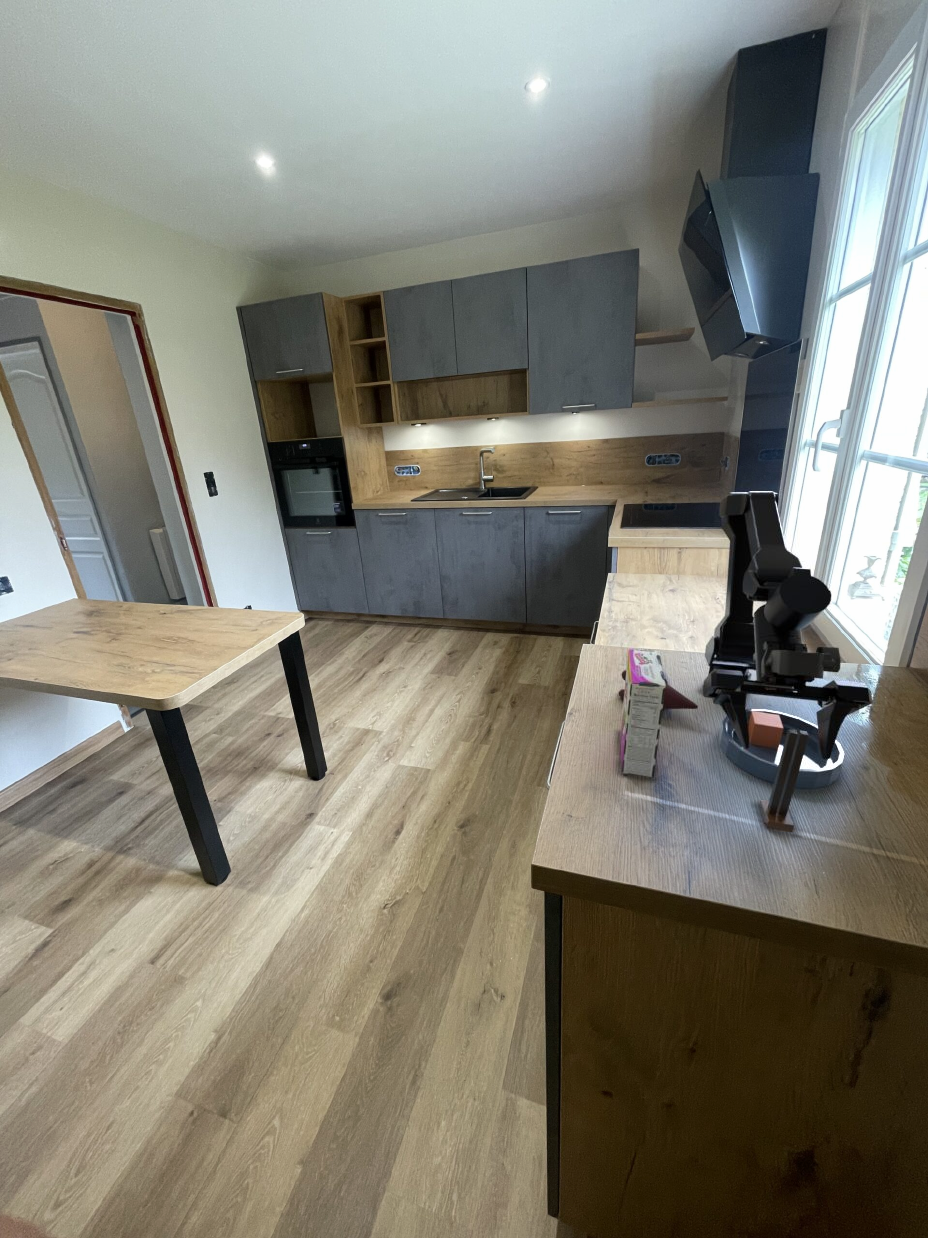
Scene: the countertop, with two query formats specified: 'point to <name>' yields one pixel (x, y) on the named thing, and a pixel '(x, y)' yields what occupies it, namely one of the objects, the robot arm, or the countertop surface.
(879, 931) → the countertop surface
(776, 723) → the block
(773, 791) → the dark brown forked stand
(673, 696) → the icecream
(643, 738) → the candy bar box
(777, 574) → the robot arm
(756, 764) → the bowl
